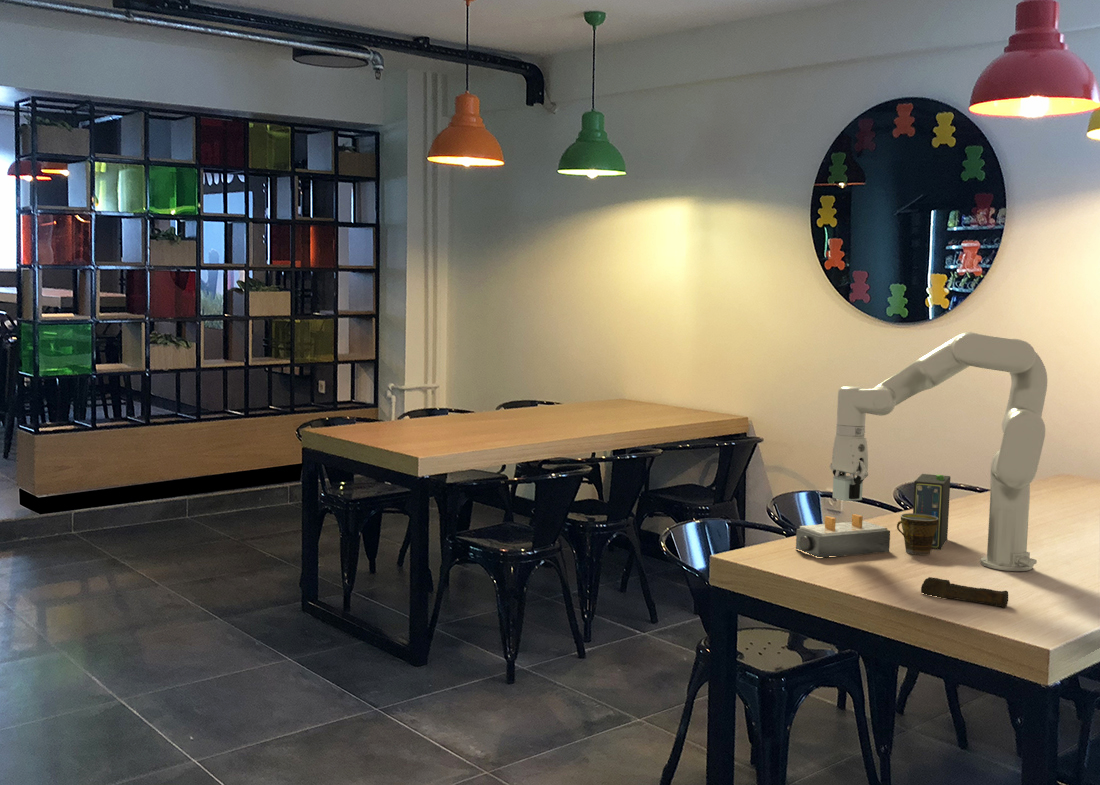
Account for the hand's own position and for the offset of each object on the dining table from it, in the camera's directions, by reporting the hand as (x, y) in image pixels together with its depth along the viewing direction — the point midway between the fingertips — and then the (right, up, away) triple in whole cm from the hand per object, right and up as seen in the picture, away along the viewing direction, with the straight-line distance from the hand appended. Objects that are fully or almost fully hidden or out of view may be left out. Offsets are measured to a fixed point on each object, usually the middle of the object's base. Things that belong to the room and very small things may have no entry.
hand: (847, 496), depth 283 cm
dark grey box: (+28, -15, +14) cm, 35 cm away
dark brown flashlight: (+14, -20, -45) cm, 51 cm away
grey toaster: (-1, -16, +3) cm, 16 cm away
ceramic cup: (+19, -16, +2) cm, 25 cm away
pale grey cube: (0, -1, 0) cm, 1 cm away
